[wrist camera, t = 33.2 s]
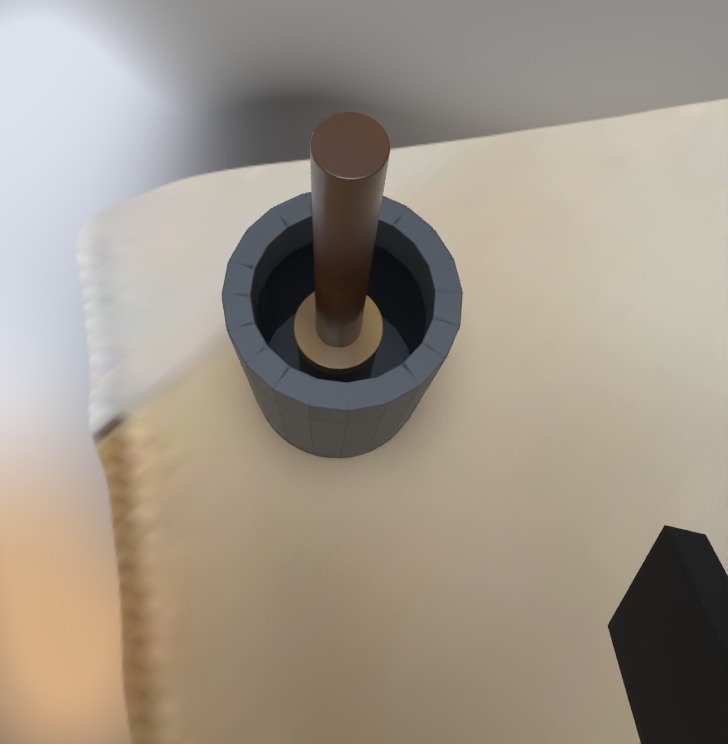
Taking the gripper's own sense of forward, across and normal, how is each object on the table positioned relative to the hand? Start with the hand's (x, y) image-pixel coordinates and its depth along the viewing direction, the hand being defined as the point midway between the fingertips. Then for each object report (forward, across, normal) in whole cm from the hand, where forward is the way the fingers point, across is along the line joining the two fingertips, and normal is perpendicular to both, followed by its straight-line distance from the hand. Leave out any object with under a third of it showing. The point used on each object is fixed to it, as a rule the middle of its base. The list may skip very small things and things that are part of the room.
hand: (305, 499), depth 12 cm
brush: (+24, -1, -10) cm, 26 cm away
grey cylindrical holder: (+25, -1, -11) cm, 27 cm away
